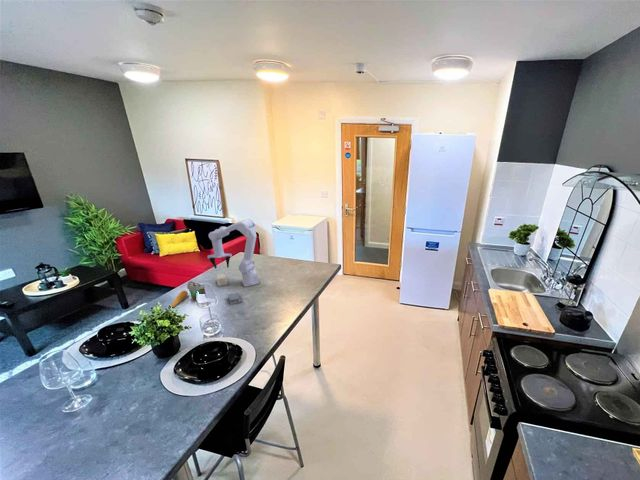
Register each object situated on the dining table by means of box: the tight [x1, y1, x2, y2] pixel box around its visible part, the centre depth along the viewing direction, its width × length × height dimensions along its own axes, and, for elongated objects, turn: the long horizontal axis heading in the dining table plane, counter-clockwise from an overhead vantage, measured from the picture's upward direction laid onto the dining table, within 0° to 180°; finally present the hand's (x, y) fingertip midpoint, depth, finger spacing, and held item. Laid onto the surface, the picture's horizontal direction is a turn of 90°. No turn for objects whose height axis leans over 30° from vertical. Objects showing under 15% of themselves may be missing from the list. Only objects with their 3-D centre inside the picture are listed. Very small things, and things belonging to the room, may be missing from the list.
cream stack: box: [216, 275, 229, 287], centre depth 196 cm, size 6×9×3 cm, turn 30°
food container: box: [186, 280, 207, 302], centre depth 174 cm, size 12×6×10 cm, turn 62°
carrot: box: [170, 290, 189, 308], centre depth 170 cm, size 20×4×4 cm, turn 3°
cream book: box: [216, 273, 227, 282], centre depth 195 cm, size 5×8×2 cm, turn 30°
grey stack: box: [227, 292, 242, 305], centre depth 175 cm, size 6×9×3 cm, turn 30°
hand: (222, 267), depth 197 cm, fingers open, 7 cm apart
